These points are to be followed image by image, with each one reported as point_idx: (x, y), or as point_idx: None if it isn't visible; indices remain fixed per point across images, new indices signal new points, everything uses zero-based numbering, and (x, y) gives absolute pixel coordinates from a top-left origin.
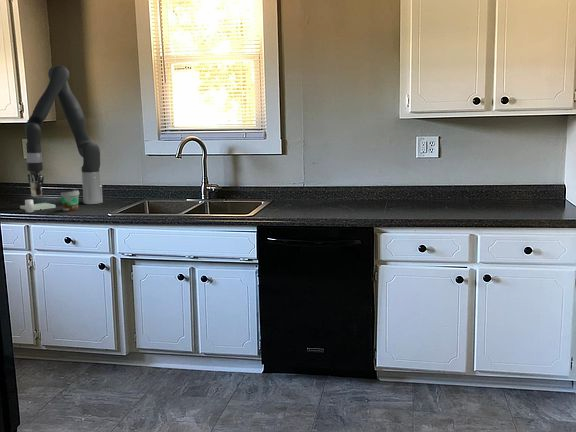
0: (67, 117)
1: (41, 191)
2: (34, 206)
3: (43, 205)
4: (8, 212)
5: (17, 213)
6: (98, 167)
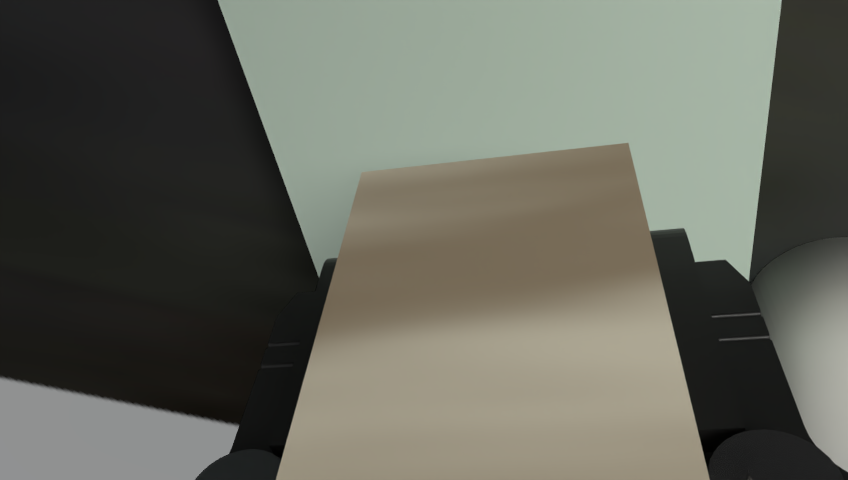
0: None
1: (650, 254)
2: None
3: (637, 3)
4: None
5: None
6: None
